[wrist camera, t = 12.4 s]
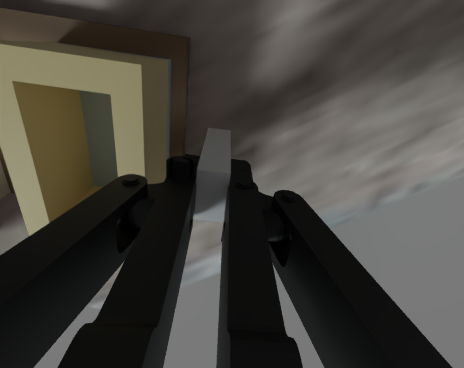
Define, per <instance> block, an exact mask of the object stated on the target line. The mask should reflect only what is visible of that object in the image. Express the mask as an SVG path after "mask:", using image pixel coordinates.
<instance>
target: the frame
mask: <svg viewBox="0 0 464 368" xmlns="http://www.w3.org/2000/svg"><path fill="white" fill-rule="evenodd" d="M170 88H171V60H170V59H164V58H157V57H150V56H144V55H137V54H130V53H124V52H117V51H111V50H104V49H97V48H91V47H84V46H78V45H71V44H64V43H58V42H35V41H10V40H0V147H1V150H2V153H3V156H4V159H5V162H6V165H7V168H8V172H9V175H10V178H11V181H12V184H13V187H14V190H15V193H16V196H17V199H18V203H19V206H20V209H21V212H22V215H23V218H24V221H25V224H26V227H27V231H28V234H29V236H30V235H32V234H33V233H35V232H36V231H38V230H39V229H41V228H42V227H44V226H45V225H47V224H48V223H50V222H51V221H53V220H54V219H56V218H57V217H59V216H60V215H62V214H63V213H65V212H66V211H68V210H69V209H71V208H72V207H74V206H75V205H77V204H78V203H80V202H81V201H83V200H84V199H86V198H87V197H89V196H90V195H92V194H94V193H95V192H97V191H98V190H100V189H101V188H103V187H104V186H106V185H107V184H109V183H110V182H112V181H113V180H115V179H116V178H118V177H120V176H123V175H127V174H136V175H141V176H144V177H145V178H146V179H147V184H156V183H162V182H164V180H165V178H166V160H167V159H168V158H169V142H170Z"/></svg>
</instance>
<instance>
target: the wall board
mask: <svg viewBox="0 0 464 368" xmlns="http://www.w3.org/2000/svg"><path fill="white" fill-rule="evenodd" d="M0 40H10V41H35V42H58V43H64V44H71V45H78V46H84V47H91V48H97V49H104V50H111V51H117V52H124V53H130V54H137V55H144V56H150V57H157V58H164V59H170V60H171V88H170V142H169V158H170V157H173V156H183V155H184V150H185V130H186V110H187V90H188V70H189V50H190V38H188V37H182V36H176V35H169V34H163V33H157V32H151V31H144V30H138V29H132V28H125V27H119V26H113V25H106V24H100V23H94V22H87V21H81V20H75V19H68V18H62V17H56V16H50V15H43V14H37V13H31V12H24V11H18V10H12V9H5V8H0ZM11 192H12V193H15V190H14V187H13V184H12V181H11V178H10V175H9V172H8V168H7V165H6V162H5V159H4V156H3V153H2V150H1V147H0V199H1V198H3V197H4V196H6V195H7V194H9V193H11Z"/></svg>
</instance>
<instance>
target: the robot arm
mask: <svg viewBox="0 0 464 368" xmlns="http://www.w3.org/2000/svg"><path fill="white" fill-rule="evenodd" d="M193 216H194V217H193ZM193 220H202V221H212V222H222V223H224V224H223V231H222V238H221V241H222V258H221V280H220V301H219V323H218V344H217V366H216V368H303V366H302V362H301V357H300V353H299V350H298V347H297V343H296V342H295V340H294V339H293V338H291V337H288V336H287V334H286V331H285V327H284V321H283V316H282V311H281V306H280V301H279V295H278V291H277V285H276V280H275V274H274V269H273V265H274V267H275V269H276V271H277V273H278V275H279V277H280V279H281V281H282V283H283V285H284V287H285V289H286V291H287V293H288V295H289V297H290V299H291V301H292V303H293V305H294V307H295V309H296V311H297V313H298V315H299V317H300V319H301V321H302V323H303V325H304V327H305V329H306V331H307V333H308V335H309V337H310V339H311V341H312V344H313V346H314V348H315V350H316V351H317V354H318V356H319V358H320V360H321V362H322V364H323V366H324V368H452V367H451V366H450V364H449V363H448V362H447V361H446V360H445V359H444V358H443V357H442V355H441V354H440V353H439V352H438V351H437V350H436V349H435V347H433V345H432V344H431V343H430V342H429V341H428V340H427V339H426V337H425V336H424V335H423V334H422V333H421V332H420V331H419V329H418V328H417V327H416V326H415V325H414V324H413V323H412V322H411V320H410V319H409V318H408V317H407V316H406V315H405V313H403V311H402V310H401V309H400V308H399V307H398V306H397V305H396V303H395V302H394V301H393V300H392V299H391V298H390V297H389V296H388V294H387V293H386V292H385V291H384V290H383V289H382V287H380V285H379V284H378V283H377V282H376V281H375V280H374V278H373V277H372V276H371V275H370V274H369V273H368V272H367V270H366V269H365V268H364V267H363V266H362V265H361V264H360V263H359V261H358V260H357V259H356V258H355V257H354V256H353V255H352V253H351V252H350V251H349V250H348V249H347V248H346V247H345V246H344V244H343V243H342V242H341V241H340V240H339V239H338V238H337V236H336V235H335V234H334V233H333V232H332V231H331V230H330V228H329V227H328V226H327V225H326V224H325V223H324V222H323V221H322V219H321V218H320V217H319V216H318V215H317V214H316V213H315V211H314V210H313V209H312V208H311V207H310V206H309V205H308V204H307V202H306V201H305V200H304V199H303V198H302V197H301V196H300V195H299V194H296V193H294V192H293V191H289V190H279V191H277V192H275V194H274V196H273V197H272V196H268V195H265V194H263V193H261V192H259V191H258V186H257V185H256V184H255V183H254V182H253V178H252V172H251V166H250V164H249V163H248V162H247V161H244V160H236V159H231V130H225V129H217V128H209V127H208V131H207V134H206V138H205V142H204V145H203V149H202V153H201V156H196V155H188V154H185V155H183V156H173V157H170V158H168V159H167V160H166V178H165V180H164V182H162V183H156V184H147V179H146V178H145V177H144V176H141V175H136V174H127V175H123V176H120V177H118V178H116V179H115V180H113V181H112V182H110V183H109V184H107V185H106V186H104V187H103V188H101V189H100V190H98V191H97V192H95V193H94V194H92V195H90V196H89V197H87V198H86V199H84V200H83V201H81V202H80V203H78V204H77V205H75V206H74V207H72V208H71V209H69V210H68V211H66V212H65V213H63V214H62V215H60V216H59V217H57V218H56V219H54V220H53V221H51V222H50V223H48V224H47V225H45V226H44V227H42V228H41V229H39V230H38V231H36V232H35V233H33V234H32V235H30V236H29V237H27V238H26V239H24V240H23V241H21V242H20V243H18V244H17V245H15V246H14V247H12V248H11V249H9V250H8V251H6V252H5V253H3V254H2V255H0V368H34V366H35V365H36V364H37V363H38V362H39V361H40V359H41V358H42V357H43V356H44V355H45V353H46V352H47V351H48V350H49V349H50V348H51V346H52V345H53V344H54V343H55V342H56V341H57V339H58V338H59V337H60V336H61V335H62V334H63V332H64V331H65V330H66V329H67V328H68V326H69V325H70V324H71V323H72V322H73V321H74V319H75V318H76V317H77V316H78V314H80V312H81V311H82V310H83V309H84V308H85V307H86V305H87V304H88V303H89V302H90V301H91V300H92V298H93V297H94V296H95V295H96V294H97V292H98V291H99V290H100V289H101V288H102V287H103V285H104V284H105V283H106V282H107V281H108V280H109V278H110V277H111V276H112V275H113V274H114V272H115V271H116V270H117V269H118V268H119V267H120V265H121V264H122V263H123V262H124V261H125V262H124V264H123V266H122V268H121V270H120V272H119V274H118V276H117V278H116V280H115V282H114V284H113V286H112V288H111V290H110V292H109V294H108V296H107V298H106V300H105V302H104V304H103V306H102V308H101V310H100V312H99V314H98V316H97V318H96V320H95V321H94V322H92V323H86V324H84V325H83V326H82V327H81V328H80V329H79V331H78V332H77V334H76V335H75V337H74V338H73V340H72V342H71V344H70V346H69V347H68V349H67V351H66V353H65V355H64V357H63V359H62V360H61V362H60V364H59V366H58V368H163V365H164V360H165V355H166V351H167V346H168V341H169V336H170V332H171V327H172V322H173V317H174V312H175V308H176V303H177V297H178V293H179V288H180V284H181V279H182V274H183V269H184V264H185V260H186V255H187V250H188V245H189V240H190V236H191V231H192V226H193ZM272 263H273V264H272Z"/></svg>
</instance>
